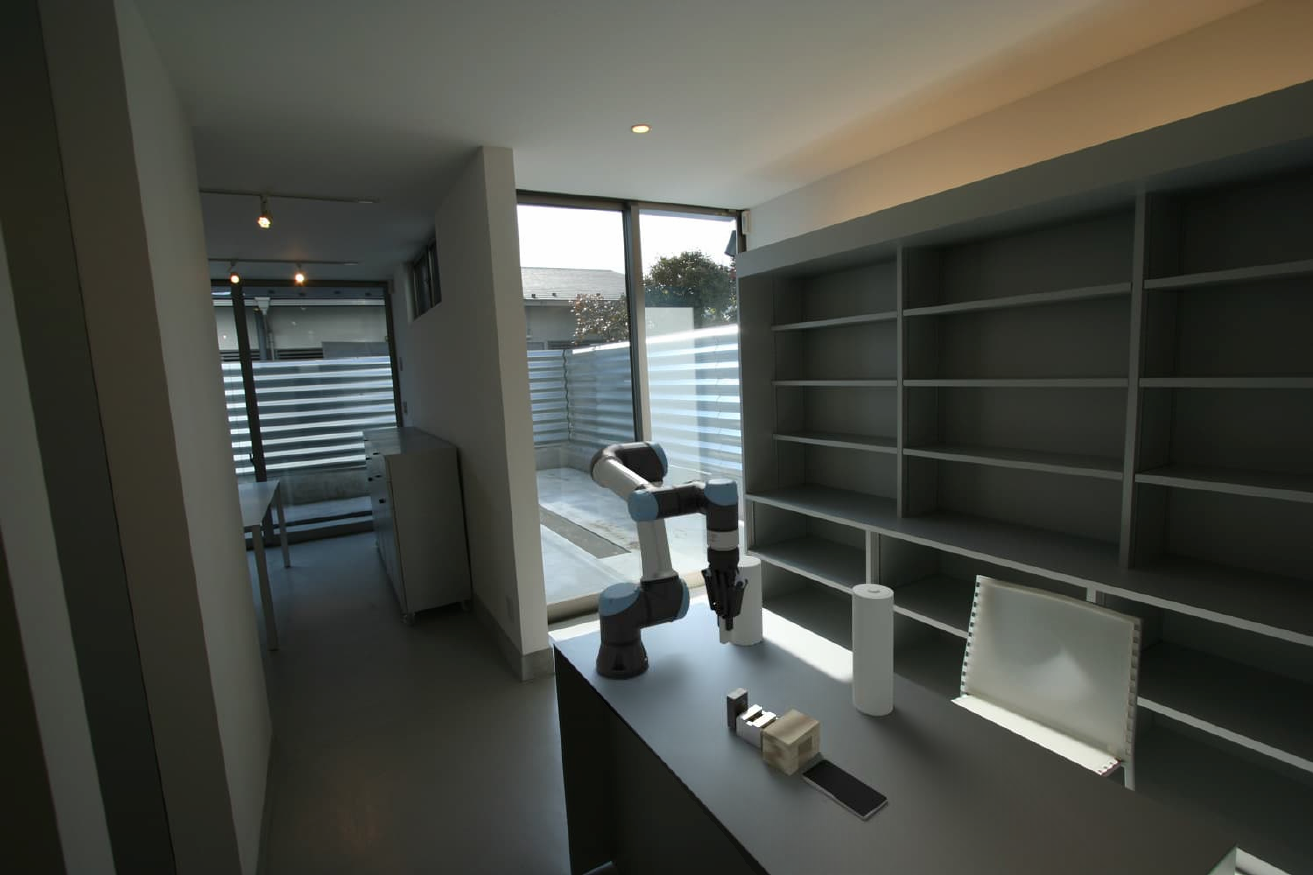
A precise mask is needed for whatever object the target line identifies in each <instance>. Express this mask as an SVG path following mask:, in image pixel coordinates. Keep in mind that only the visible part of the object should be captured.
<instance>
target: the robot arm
mask: <svg viewBox="0 0 1313 875" xmlns="http://www.w3.org/2000/svg"><path fill="white" fill-rule="evenodd" d="M668 469H669V463H668V458H667V455H666V453H665V451H664V448H663V447H662V446H661V445H660V444H659V443H658V442H657V441H644V440H643V441H638V442H637V441H636V442H628V443H627V442H626V443H619V444H609V445H606V446H605V447H602V448H600V449H599V450H597V451H596V452H595V453H594V454H593V456H592V457H591V459H590V462H589V467H588V471H589V476H590V477H591V479H592V481H593V482H594V483H595V484H596V485H598V486H599V487H601V488H602V489H607V490H608V489H609V491H611V492H612V493H613V494H615V495H616V496H617V497H619V498H620V499H622V500H623V501H624V502H625V503H627V510H628V514H629V515H630V518H631V519H632V521H633V522H635V524H636V532H637V537H638V543H639V549H640V556H641V563H642V568H643V575H642V576H641V577H640V579H639V584H640V586H638V584H636V583H634V582H628V581H627V582H618V583H615V584H611V585H609V586H607V587H606V588H605V589H603V591H602V592H600V594H599V597H598V608H597V609H598V615H599V628H600V629H599V630H600V632H599V634H600V645H599V649H598V652H597V657H596V660H595V670H596V672H597V674H598V675H600V676H602V677H603V678H606V679H609V680H629V679H633V678H637V677H638V676H640V675H642V674H644V673H645V672H646V671H647V670H648V668H649V665H650V664H649V656H648V653H647V651H646V648H645V645H644V642H643V640H642V629H646V628H650V627H654V626H659V625H663V624H667V623H674V622H675V621H678V620H682V619H683V618H685V617H686V616H687V614H688V611H689V609H690V606H691V604H690V603H691V597H690V596H691V594H690V590H689V586H687V581H686V580H684V579H683V578H680V576H679V572H677V571H676V570H675V569H674V568H673V565H672V558H671V552H670V546H669V541H668V540H669V539H668V533H667V528H666V521H665V519H669V518H674V517H675V518H676V517H682V516H689V515H695V514H701V515H702V516H705V525H706V545H707V547H706V557H707V558H706V559H707V562H708V567H707V568H704V569H701V571H700V573H701V576H702V578H703V581H704V585H705V589H706V594H707V600H708V605H709V609H710V611H714V612H715V615H716V622H717V623H716V624H717V627H718V628H719V629H718V630H719V633H718V634H719V637H718V638H719V643H720V644H722V645H727V644H728V643H729V642H730V643H731V641H732V630H733V618H734V617H736V616H738V615H740V612H741V606H742V601H743V595H744V590H745V587H746V585H747V584H748V580H747V579H744V580H743V579H742V577H741V576H740V575H739V569H738V563H739V560H740V557H739V556H740V547H739V544H740V531H739V530H740V529H739V528H740V527H739V524H740V523H739V522H740V521H739V499H740V498H739V493H738V484H737V482H736V481H735V480H733V479H729V478H713V479H709V480H707V481H706V482H705V481H704V480H701V479H695V478H694V479H688V480H686V481H685V482H683V483H682V484H674V485H667V486H663V484H664V478H665V477H666V476H667V475H668V472H669V470H668ZM735 580H736V582H735ZM734 587H735V588H734Z"/></svg>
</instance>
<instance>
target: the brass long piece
mask: <svg viewBox="0 0 1313 875" xmlns="http://www.w3.org/2000/svg"><path fill="white" fill-rule="evenodd" d="M748 692H749V691H748V690H746V689H744V688H741V687H738V688H737V689H735V690H733V691H732V692H730V693H728V694H727V695H726V696H725V697H726V719H727V720H726V721H727V722H726V724H727V727H728V728H729V729H731V730H733V731H737V724H736V717H738V716H739V715H740V714H742V713H743V712H745V711H747V710H748V709H749V693H748ZM757 719H759V718H758V717H756V716H753V717H752V718H750V719H749V720H748V721H750V722H752V723H753V722H754V721H756V720H757ZM769 725H771V724H769V723H768V724H766V725H765V726H763V727H762V728H763V729H765V728H766V727H768V726H769Z"/></svg>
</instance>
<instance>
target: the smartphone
mask: <svg viewBox="0 0 1313 875" xmlns="http://www.w3.org/2000/svg"><path fill="white" fill-rule="evenodd" d="M802 780H804V781H805V782H807V783H808V785H810V786H812V787H813V788H815V789H817V790H818V791H819V792H821V793H823V794H824V795H826V796H828V797H829V798H830V799H832V800H834V802H837V803H838V804H840V805H841V806H842V807H844V808H846V809H847V810H849V811H850V812H851V813H853V814H854V815H856V816H858V817H859V818H860V819H862V820H864V821H865V820H867V819H868V818H869V817H870V816H872V815H873V814H874V813H875V812H876V811H877V810H879V809H880V808H881V807H883V806H884V805H885V804H886V803H888V798H887V797H886V796H885V795H884V794H882V793H880V792H879V791H877V790H876V789H874V788H872V787H871V786H869V785H868V784H866V783H865V782H863V781H861V780H859V779H858V778H857V777H855V776H853V775H852V774H850V773H849V772H847V771H846V770H844V769H842V768H841V767H839V766H838V765H836V764H834V763H833V762H831V761H830V760H828V759H822V760H820V761H819V762H817V763H816V764H815V765H813V766H811V767H810V768H808V769H807V770H805V771H803V773H802Z"/></svg>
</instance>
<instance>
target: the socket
mask: <svg viewBox="0 0 1313 875" xmlns="http://www.w3.org/2000/svg"><path fill="white" fill-rule="evenodd" d="M820 723H821V722H820V721H818V720H816V719H814V718H812V717H810V716H808V715H806V714H804V713H802V712H800V711H797V710H796V709H794V708H793V709H791V710H789V711H788V712H787V713H785V714H784V715H783V716H781V717H778V720H776V721H775V722H773V723H772V724H771V725H769V726H768V727H766V728H765V729H763V730H762V733H763V749H762V760H763V761H764V762H766V763H767V764H769V765H771V766H772V767H774V768H776V769H778V770H779V771H781V772H782V773H784V774H786V775H788V776H789V777H791V776H792V775H793V774H794V773H795V772H796V771H798V769H800V768H801V767H803V766H804V765H805V764H806V763H807V762H809V761H811V760H812V759H813V758H814V757H815V756H817V754H819V753H821V742H820V741H821V736H820V735H821V734H820V733H821V730H820V728H821V727H820Z"/></svg>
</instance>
